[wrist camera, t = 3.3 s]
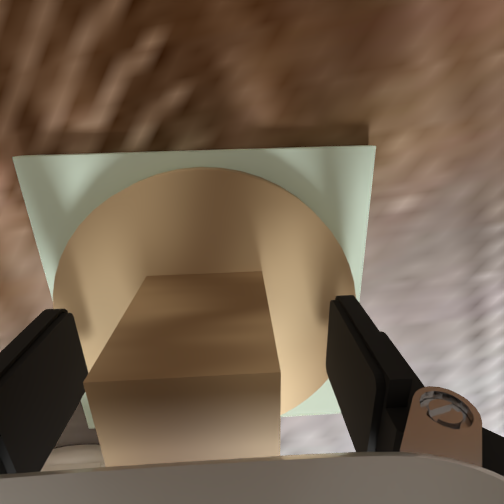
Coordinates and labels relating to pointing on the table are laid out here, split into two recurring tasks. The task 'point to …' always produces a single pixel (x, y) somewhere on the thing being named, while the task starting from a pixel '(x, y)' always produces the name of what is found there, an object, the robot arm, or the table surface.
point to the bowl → (74, 458)
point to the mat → (247, 160)
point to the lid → (200, 314)
